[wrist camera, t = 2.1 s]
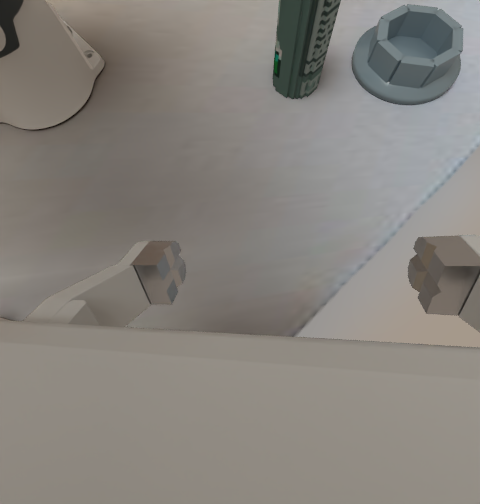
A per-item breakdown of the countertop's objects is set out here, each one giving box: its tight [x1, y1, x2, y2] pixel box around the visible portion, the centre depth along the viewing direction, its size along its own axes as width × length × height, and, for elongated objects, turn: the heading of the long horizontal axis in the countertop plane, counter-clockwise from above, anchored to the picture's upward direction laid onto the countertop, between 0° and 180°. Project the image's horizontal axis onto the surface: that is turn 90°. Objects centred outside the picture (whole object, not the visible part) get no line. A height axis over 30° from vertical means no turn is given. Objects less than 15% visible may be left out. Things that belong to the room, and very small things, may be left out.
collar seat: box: [352, 4, 463, 105], centre depth 35 cm, size 14×14×4 cm
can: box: [273, 0, 341, 99], centre depth 30 cm, size 6×6×15 cm
